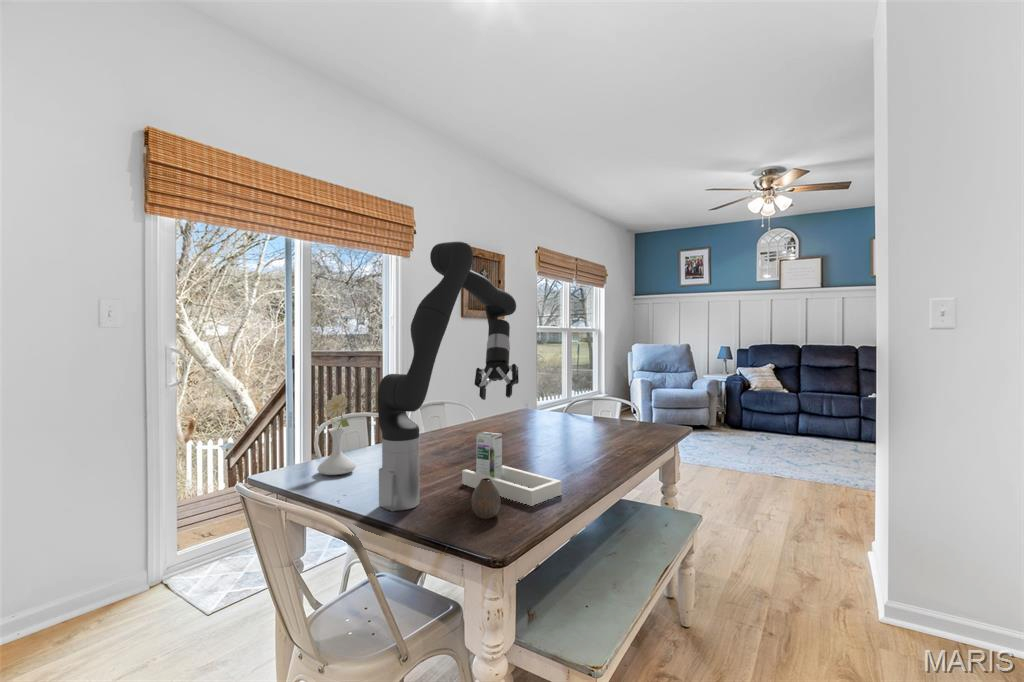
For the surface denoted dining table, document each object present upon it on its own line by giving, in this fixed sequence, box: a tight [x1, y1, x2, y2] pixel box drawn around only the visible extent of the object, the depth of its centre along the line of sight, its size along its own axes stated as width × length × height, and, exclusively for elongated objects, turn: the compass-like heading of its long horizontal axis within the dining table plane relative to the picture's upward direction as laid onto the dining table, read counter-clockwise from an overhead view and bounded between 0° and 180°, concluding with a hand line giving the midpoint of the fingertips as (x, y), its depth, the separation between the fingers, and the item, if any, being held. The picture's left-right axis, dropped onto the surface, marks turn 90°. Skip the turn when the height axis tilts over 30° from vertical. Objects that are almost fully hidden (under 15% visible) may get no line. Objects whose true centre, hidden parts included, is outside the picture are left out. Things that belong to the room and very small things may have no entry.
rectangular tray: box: [461, 464, 563, 507], centre depth 138 cm, size 12×27×4 cm, turn 46°
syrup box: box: [475, 431, 503, 480], centre depth 143 cm, size 6×6×14 cm
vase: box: [471, 478, 501, 520], centre depth 118 cm, size 7×7×9 cm
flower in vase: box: [317, 393, 357, 476], centre depth 153 cm, size 13×11×25 cm
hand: (495, 398), depth 154 cm, fingers open, 8 cm apart
